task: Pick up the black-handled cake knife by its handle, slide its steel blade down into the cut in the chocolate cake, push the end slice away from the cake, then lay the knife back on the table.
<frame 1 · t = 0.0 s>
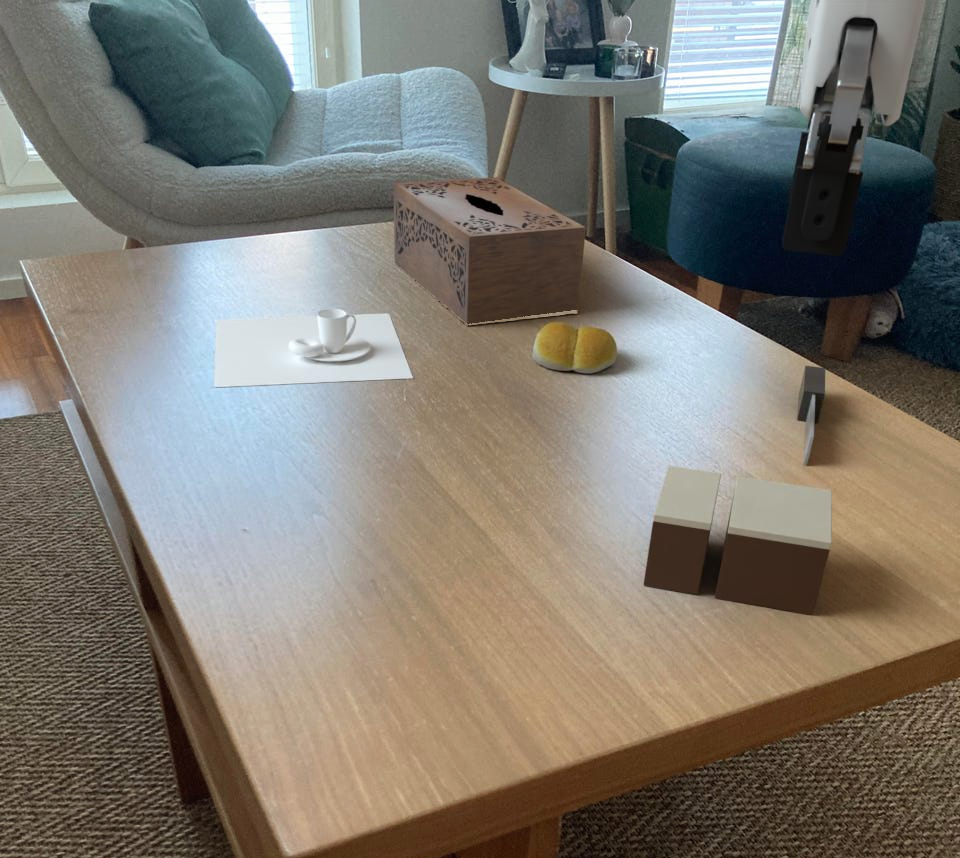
hand: (813, 228, 58), 26 cm above the table, tool pointing down, fingers open, 9 cm apart
tissue box cover: (481, 288, 131), on the table
cake slice: (676, 563, 78), on the table
cake: (765, 578, 77), on the table
knife: (808, 407, 103), on the table
bread roll: (571, 363, 111), on the table
teacup and saucer: (309, 348, 112), on the table
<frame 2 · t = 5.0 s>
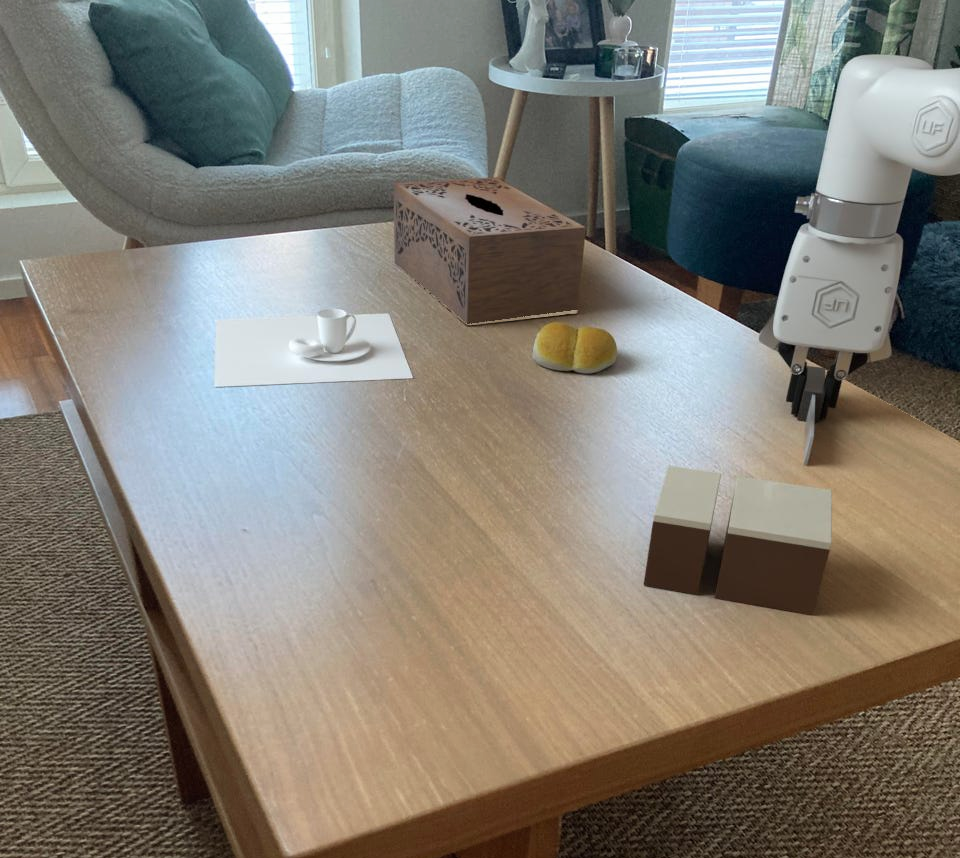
hand: (808, 409, 102), 0 cm above the table, tool pointing down, fingers closed on knife, 2 cm apart
knife: (808, 407, 103), on the table, touching gripper
everything else where it was.
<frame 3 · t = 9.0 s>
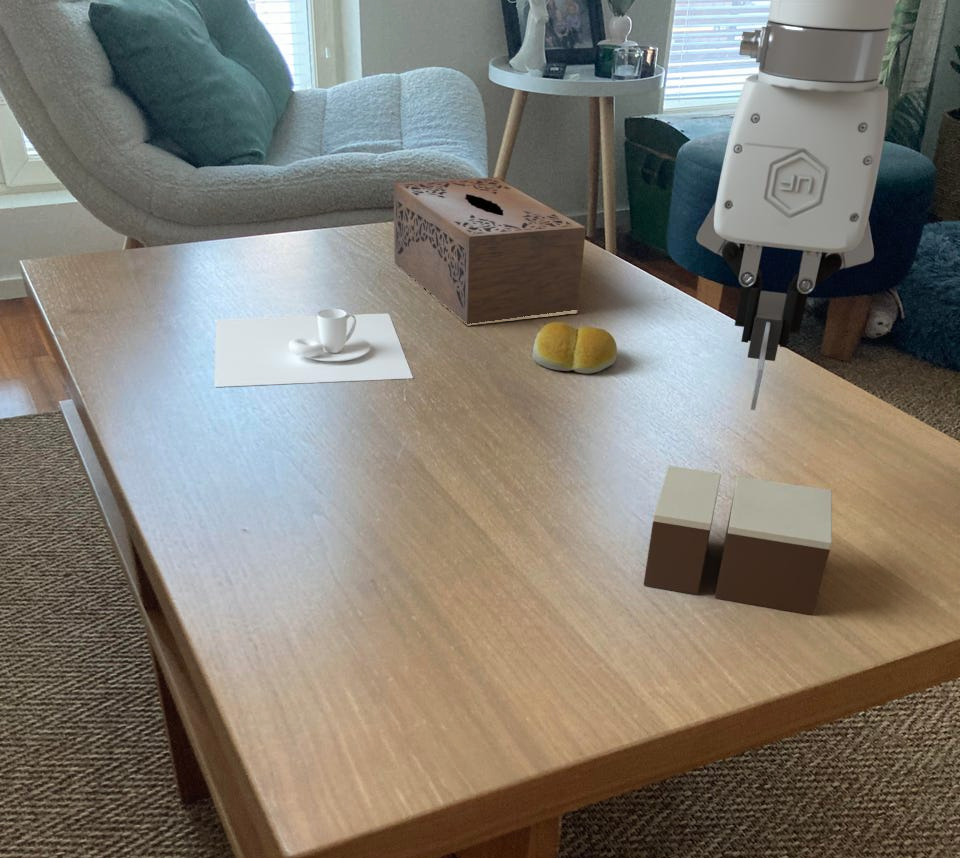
hand: (765, 337, 77), 15 cm above the table, tool pointing down, fingers closed on knife
knife: (763, 344, 78), point 14 cm above the table, touching gripper
everything else where it was.
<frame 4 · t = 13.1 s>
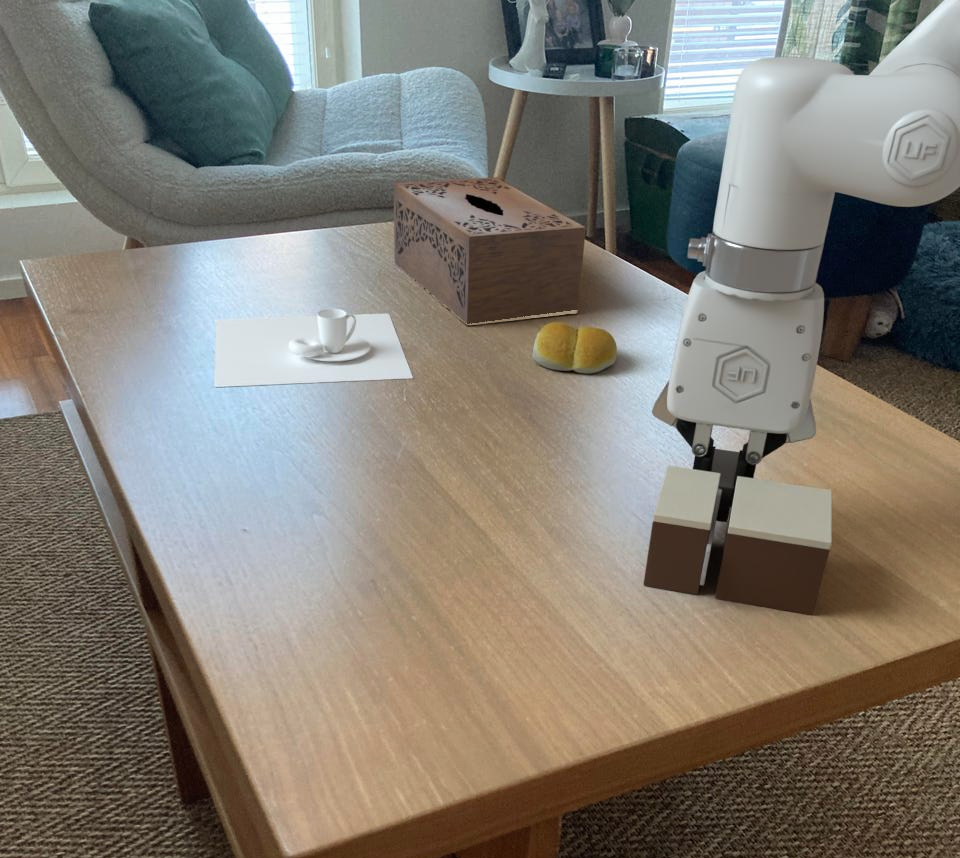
hand: (718, 497, 82), 2 cm above the table, tool pointing down, fingers closed on knife, 2 cm apart
cake slice: (676, 563, 78), on the table, touching knife
knife: (717, 501, 84), point 1 cm above the table, touching cake slice, gripper
everything else where it was.
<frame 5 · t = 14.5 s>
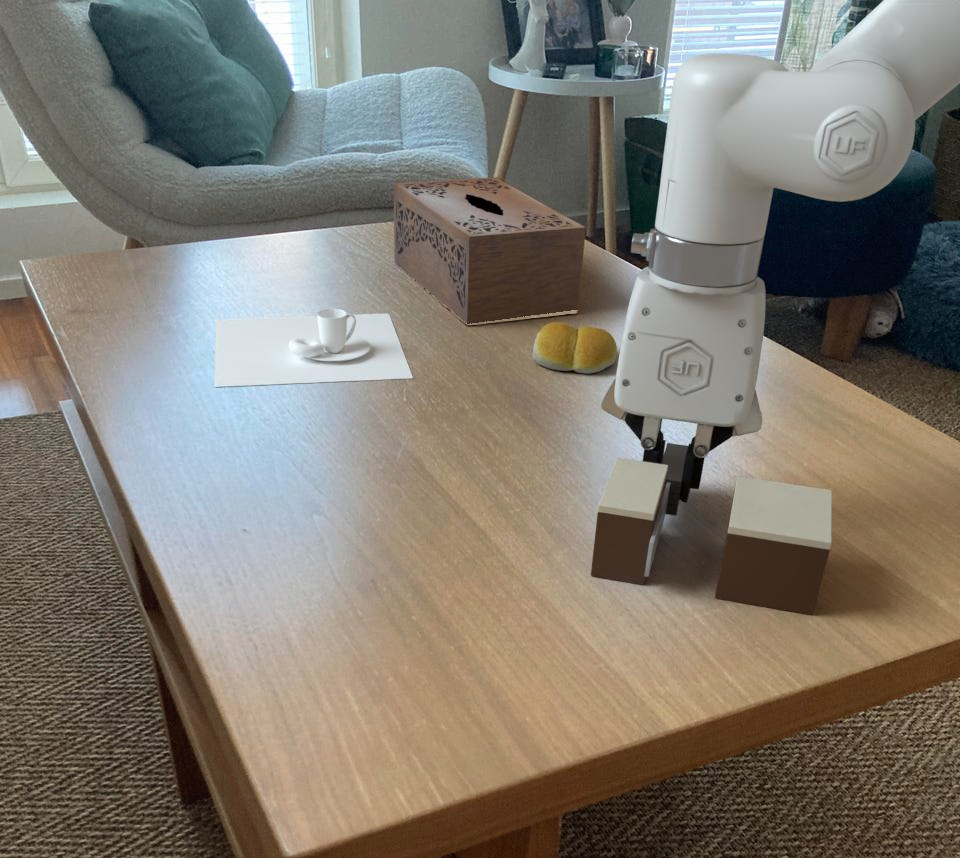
hand: (668, 490, 83), 2 cm above the table, tool pointing down, fingers closed on knife, 2 cm apart
cake slice: (625, 553, 79), on the table
knife: (669, 494, 85), point 1 cm above the table, touching gripper
everything else where it was.
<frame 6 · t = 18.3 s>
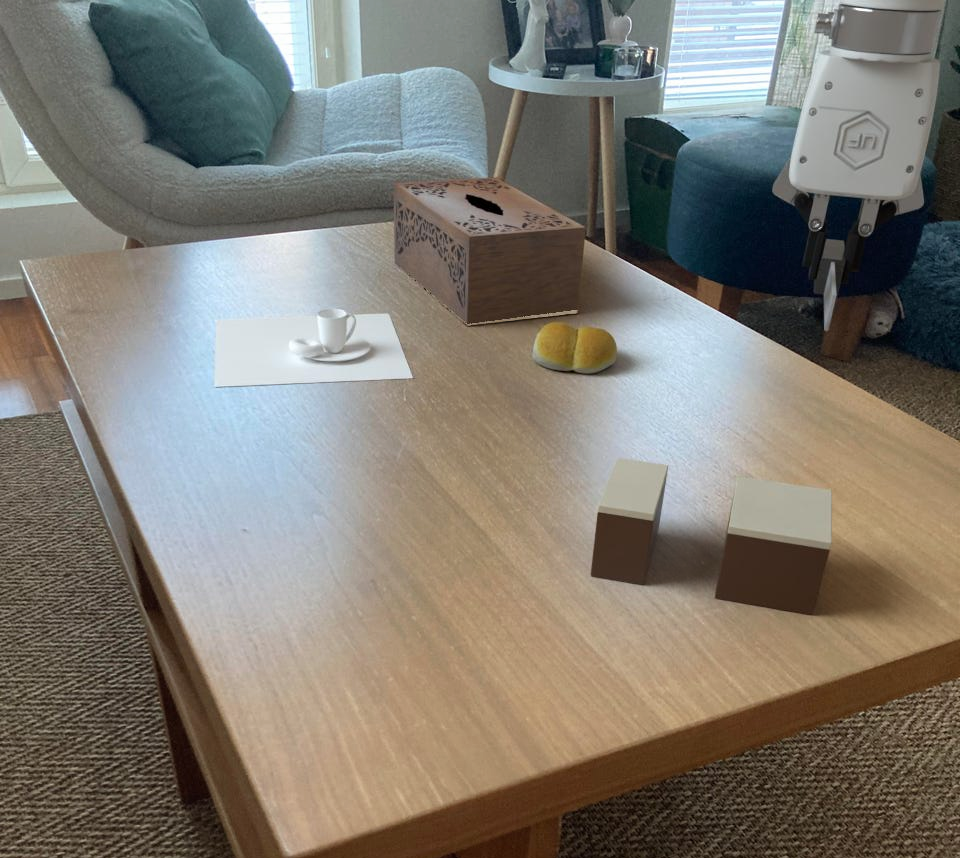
hand: (828, 275, 90), 15 cm above the table, tool pointing down, fingers closed on knife
knife: (825, 283, 92), point 13 cm above the table, touching gripper
everything else where it was.
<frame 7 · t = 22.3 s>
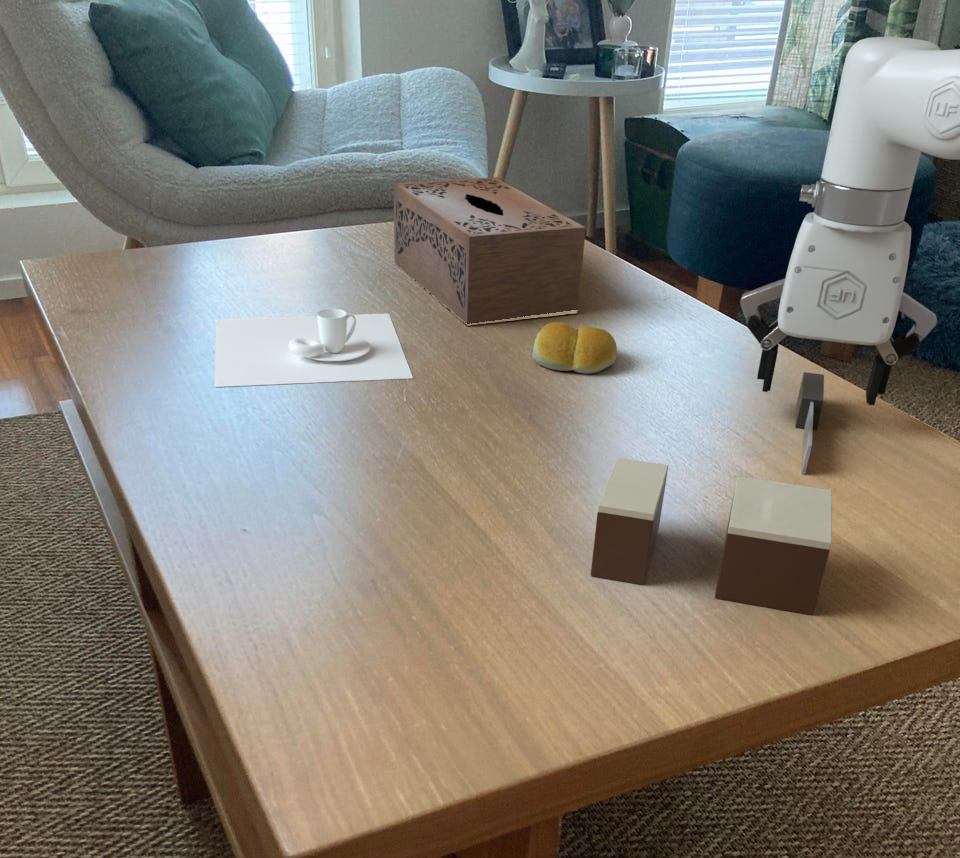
hand: (817, 393, 98), 3 cm above the table, tool pointing down, fingers open, 9 cm apart
knife: (806, 414, 102), on the table
everything else where it was.
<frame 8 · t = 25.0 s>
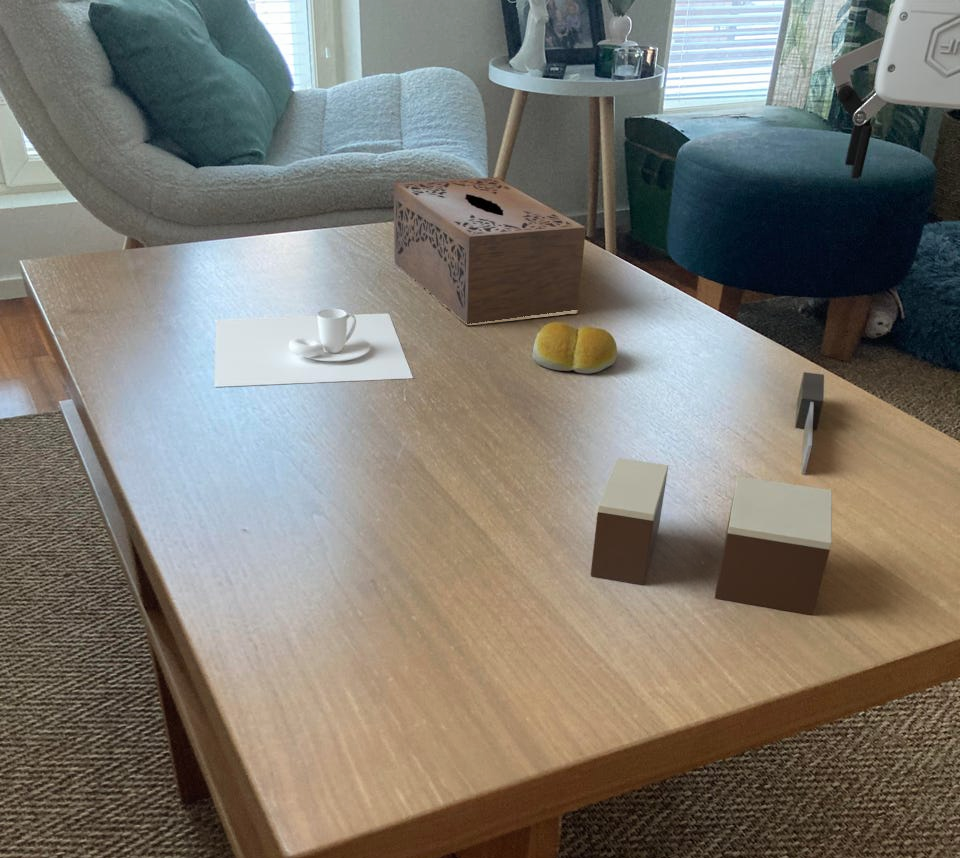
hand: (914, 180, 86), 22 cm above the table, tool pointing down, fingers open, 9 cm apart
nothing on the table moved.
at the end: cake slice moved 4.0 cm from its start; cake slice tilted 0°; knife on the table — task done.
